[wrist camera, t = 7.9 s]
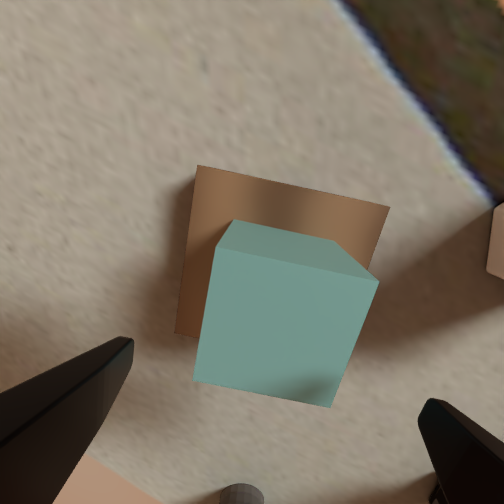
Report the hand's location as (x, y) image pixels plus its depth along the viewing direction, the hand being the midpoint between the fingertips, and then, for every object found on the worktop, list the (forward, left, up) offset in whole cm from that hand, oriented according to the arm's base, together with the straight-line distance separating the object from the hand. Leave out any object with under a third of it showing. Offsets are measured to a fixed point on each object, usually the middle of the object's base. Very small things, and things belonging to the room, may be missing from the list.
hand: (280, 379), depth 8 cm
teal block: (0, 0, -8) cm, 8 cm away
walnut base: (0, 0, -11) cm, 11 cm away
